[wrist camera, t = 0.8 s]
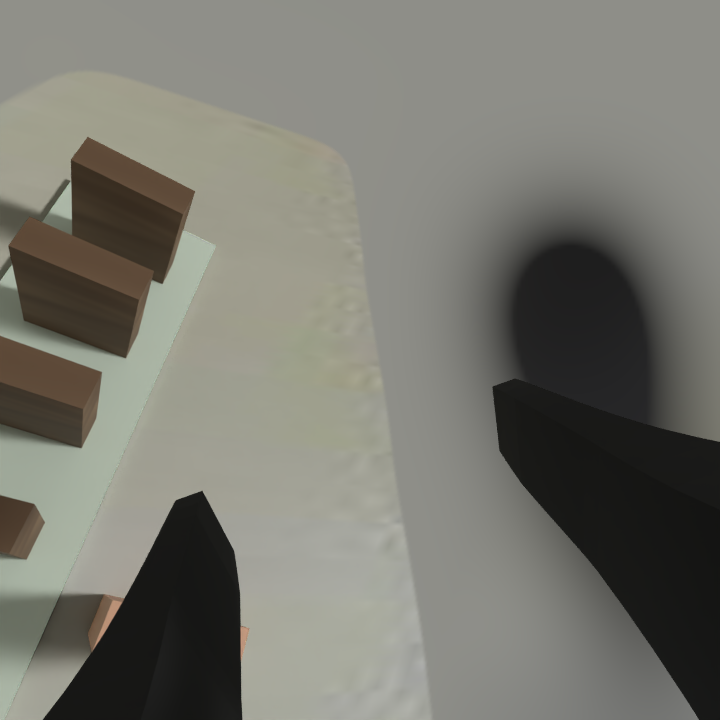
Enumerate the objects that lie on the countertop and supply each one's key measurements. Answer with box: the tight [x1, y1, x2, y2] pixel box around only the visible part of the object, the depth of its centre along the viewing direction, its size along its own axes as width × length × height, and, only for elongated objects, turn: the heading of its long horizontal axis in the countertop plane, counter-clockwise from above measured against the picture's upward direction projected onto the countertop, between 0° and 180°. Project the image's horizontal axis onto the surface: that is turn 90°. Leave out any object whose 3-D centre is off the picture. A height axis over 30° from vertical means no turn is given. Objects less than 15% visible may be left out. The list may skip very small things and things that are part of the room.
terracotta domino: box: [88, 594, 249, 659], centre depth 18 cm, size 1×4×6 cm, turn 77°
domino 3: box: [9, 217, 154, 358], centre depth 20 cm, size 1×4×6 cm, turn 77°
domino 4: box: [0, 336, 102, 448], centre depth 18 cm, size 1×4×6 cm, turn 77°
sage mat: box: [0, 182, 216, 720], centre depth 20 cm, size 24×8×1 cm, turn 167°
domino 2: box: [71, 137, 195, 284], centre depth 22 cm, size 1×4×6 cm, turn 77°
